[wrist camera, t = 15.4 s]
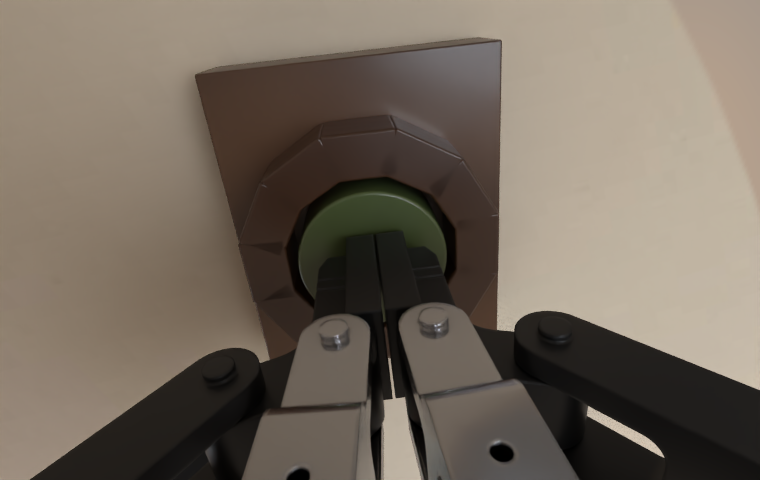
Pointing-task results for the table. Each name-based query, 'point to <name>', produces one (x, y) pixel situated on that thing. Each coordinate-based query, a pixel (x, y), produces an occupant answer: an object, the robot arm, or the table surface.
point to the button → (365, 223)
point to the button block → (359, 159)
